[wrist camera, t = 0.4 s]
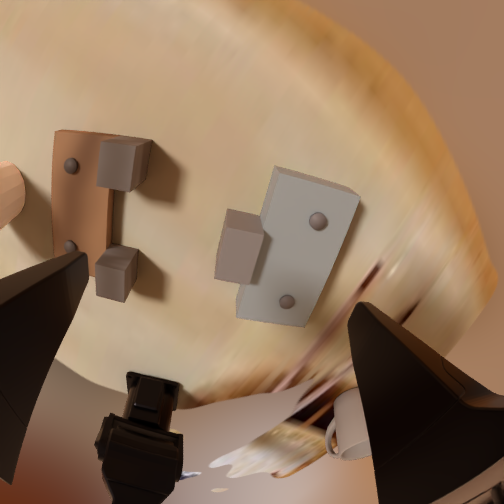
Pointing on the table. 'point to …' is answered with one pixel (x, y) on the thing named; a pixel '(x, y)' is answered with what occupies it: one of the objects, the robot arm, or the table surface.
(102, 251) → the leaf
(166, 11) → the table surface
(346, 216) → the leaf
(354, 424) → the cup
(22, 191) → the pale pink tumbler
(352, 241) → the table surface
